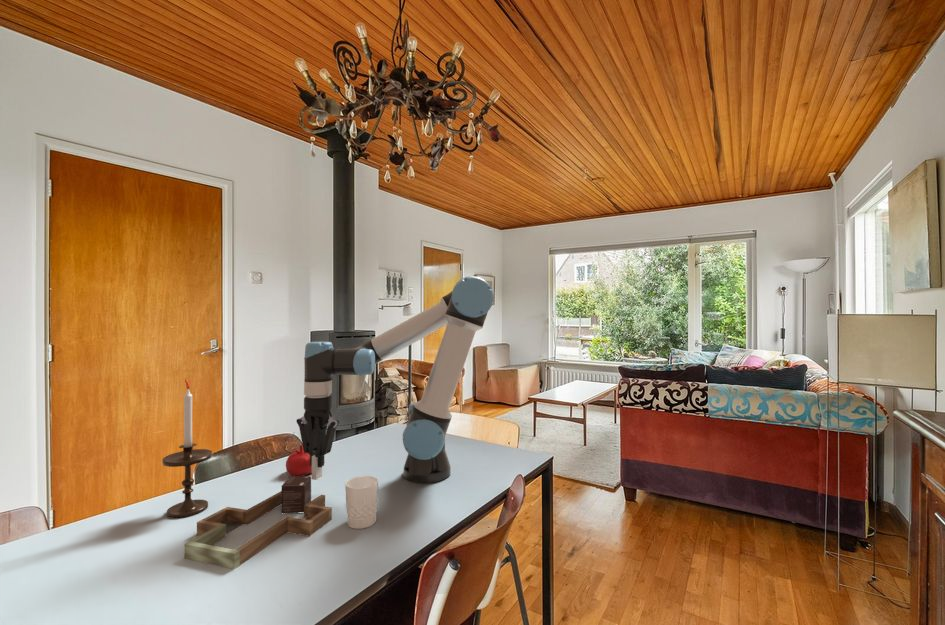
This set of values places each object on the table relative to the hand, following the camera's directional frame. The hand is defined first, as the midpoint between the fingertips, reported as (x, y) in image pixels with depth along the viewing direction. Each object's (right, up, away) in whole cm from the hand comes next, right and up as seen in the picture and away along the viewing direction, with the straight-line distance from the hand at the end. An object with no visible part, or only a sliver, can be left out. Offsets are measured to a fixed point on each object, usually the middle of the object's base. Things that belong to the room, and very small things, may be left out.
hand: (316, 477), depth 120 cm
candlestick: (-31, -5, -9) cm, 32 cm away
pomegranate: (-11, -5, +17) cm, 21 cm away
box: (-2, -5, -9) cm, 10 cm away
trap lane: (-6, -5, -20) cm, 21 cm away
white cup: (+17, -5, -17) cm, 25 cm away
